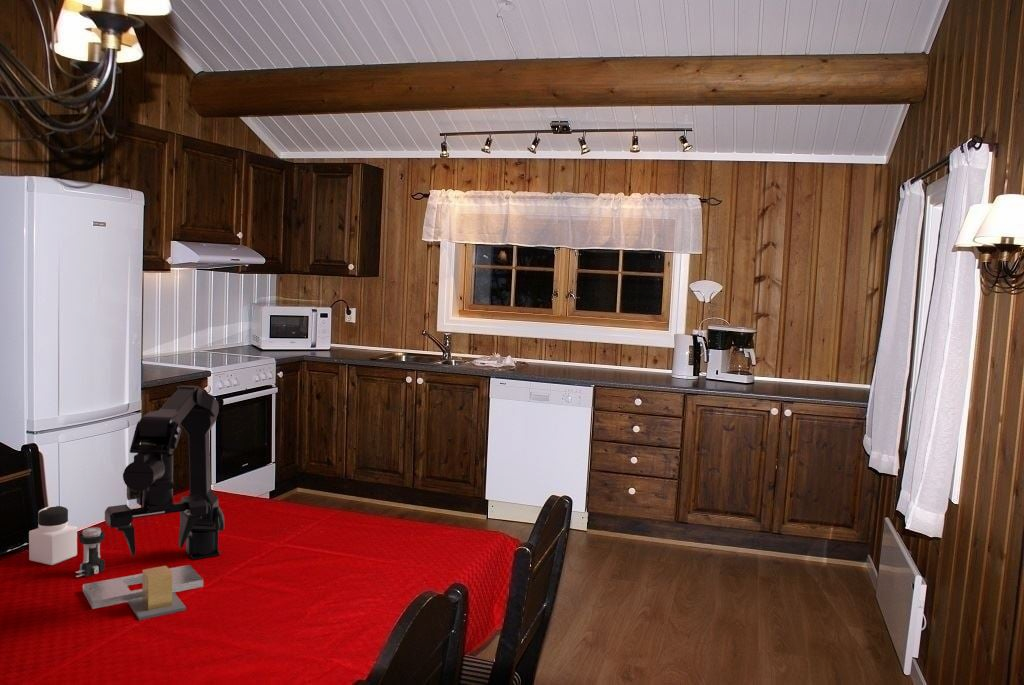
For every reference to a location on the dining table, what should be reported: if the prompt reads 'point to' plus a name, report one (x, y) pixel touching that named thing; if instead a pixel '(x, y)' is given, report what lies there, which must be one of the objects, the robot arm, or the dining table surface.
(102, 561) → the push button
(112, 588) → the rail
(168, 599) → the brass block
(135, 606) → the pad
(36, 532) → the medicine bottle
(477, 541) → the dining table surface
